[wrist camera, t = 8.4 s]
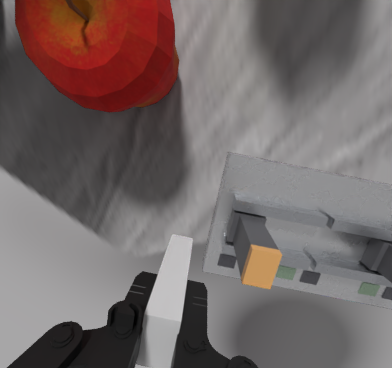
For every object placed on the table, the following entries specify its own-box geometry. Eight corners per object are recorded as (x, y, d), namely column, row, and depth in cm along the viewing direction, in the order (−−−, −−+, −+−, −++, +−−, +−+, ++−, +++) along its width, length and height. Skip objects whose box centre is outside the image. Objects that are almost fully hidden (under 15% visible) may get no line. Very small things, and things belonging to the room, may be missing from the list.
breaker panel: (202, 260, 25) (202, 282, 21) (228, 151, 21) (232, 156, 18) (442, 307, 25) (481, 337, 21) (507, 207, 21) (566, 223, 18)
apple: (122, -7, 18) (-21, -233, 7) (205, 49, 19) (203, -71, 7) (85, 87, 20) (-72, 35, 9) (160, 132, 21) (106, 140, 10)
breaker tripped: (226, 233, 21) (234, 283, 15) (232, 207, 20) (245, 246, 14) (254, 239, 21) (276, 291, 15) (262, 213, 20) (289, 255, 14)
